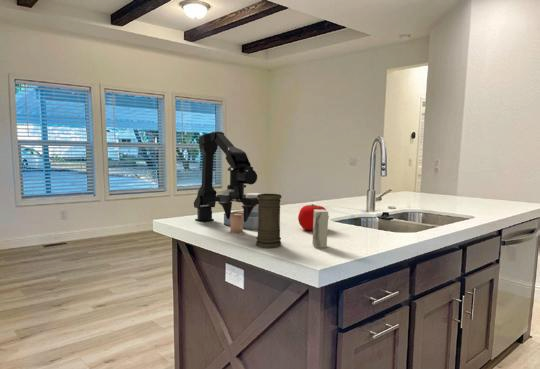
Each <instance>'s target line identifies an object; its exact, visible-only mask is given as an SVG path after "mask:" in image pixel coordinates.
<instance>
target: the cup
mask: <svg viewBox="0 0 540 369" xmlns="http://www.w3.org/2000/svg"><path fill="white" fill-rule="evenodd" d="M258 194H262V193H261V192H258V193H257V192H249V193H248V192H247V193H246V194H245V195H246V197H257V196H258ZM258 199H259V198H258ZM258 206H259V204H258V205H256V206H254V208H253V210H252V211H254V212H258Z"/></svg>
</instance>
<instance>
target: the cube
mask: <svg viewBox="0 0 540 369" xmlns="http://www.w3.org/2000/svg"><path fill="white" fill-rule="evenodd" d="M242 210H243V209H241V210H236V211H233V212H234V214H243V216H244V211H242Z"/></svg>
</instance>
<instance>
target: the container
mask: <svg viewBox="0 0 540 369" xmlns="http://www.w3.org/2000/svg"><path fill="white" fill-rule="evenodd" d="M257 198H259V199H258V202H259V206H258V229H257V237H256V243H255V244H256V246H257V247H258V248H259V247H260V248H263V249H264V248H265V249H273V248H275V249H276V248H278V247H280V246H282V241H281V240H282V238H281V229H280V226H281V222H280V221H281V199H282V194H279V193H261V194H258V196H257Z"/></svg>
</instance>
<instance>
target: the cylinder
mask: <svg viewBox="0 0 540 369" xmlns="http://www.w3.org/2000/svg"><path fill="white" fill-rule="evenodd" d="M243 231H244V228H243V214H231V226H230V233H232V234H241V233H243Z"/></svg>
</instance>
